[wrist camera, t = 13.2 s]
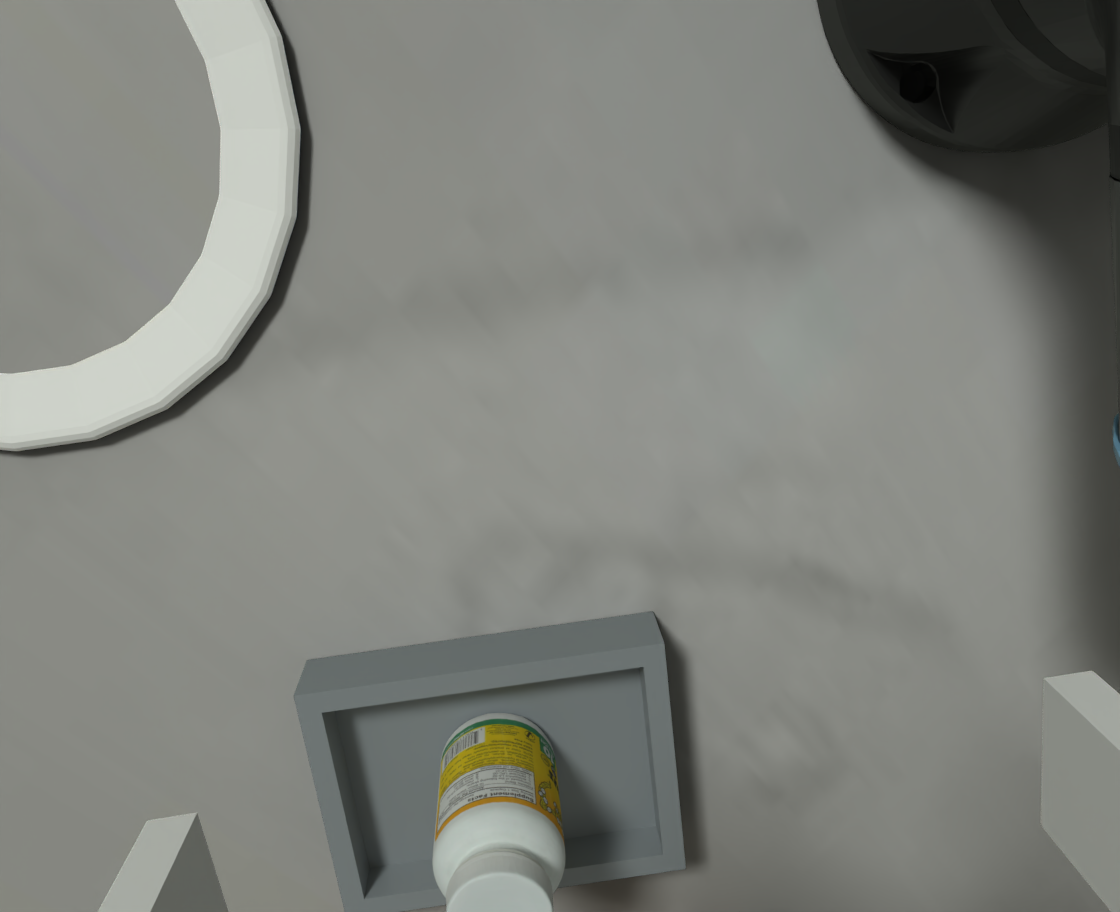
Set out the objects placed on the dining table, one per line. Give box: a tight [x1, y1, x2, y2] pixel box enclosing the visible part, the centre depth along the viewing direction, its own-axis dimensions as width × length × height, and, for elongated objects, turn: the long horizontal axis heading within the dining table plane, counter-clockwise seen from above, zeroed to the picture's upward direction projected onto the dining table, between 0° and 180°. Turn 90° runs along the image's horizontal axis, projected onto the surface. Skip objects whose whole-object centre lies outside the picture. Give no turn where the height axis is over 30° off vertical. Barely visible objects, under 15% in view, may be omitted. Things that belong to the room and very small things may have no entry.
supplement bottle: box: [432, 713, 565, 912], centre depth 39 cm, size 5×5×10 cm
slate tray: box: [294, 612, 686, 912], centre depth 43 cm, size 16×12×3 cm
